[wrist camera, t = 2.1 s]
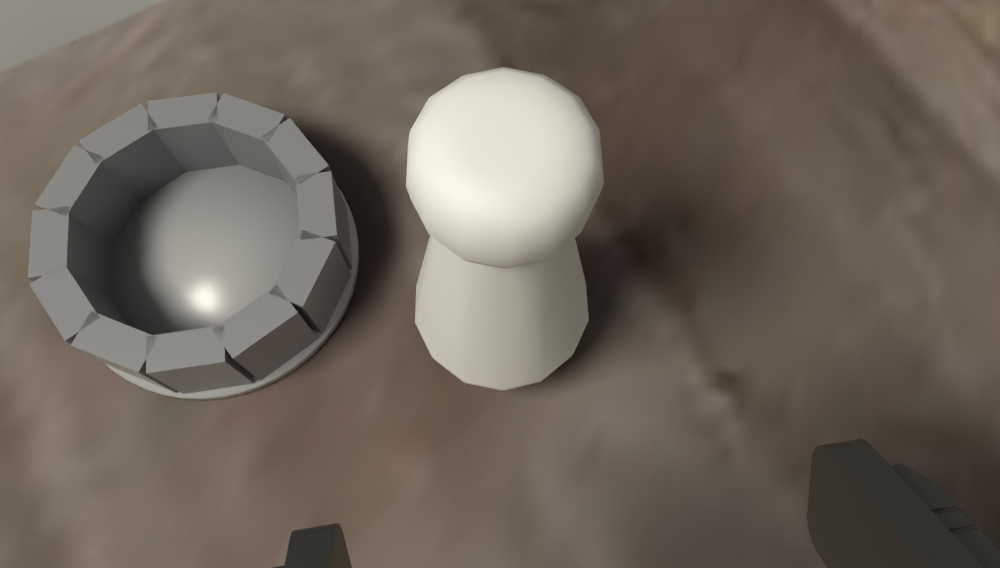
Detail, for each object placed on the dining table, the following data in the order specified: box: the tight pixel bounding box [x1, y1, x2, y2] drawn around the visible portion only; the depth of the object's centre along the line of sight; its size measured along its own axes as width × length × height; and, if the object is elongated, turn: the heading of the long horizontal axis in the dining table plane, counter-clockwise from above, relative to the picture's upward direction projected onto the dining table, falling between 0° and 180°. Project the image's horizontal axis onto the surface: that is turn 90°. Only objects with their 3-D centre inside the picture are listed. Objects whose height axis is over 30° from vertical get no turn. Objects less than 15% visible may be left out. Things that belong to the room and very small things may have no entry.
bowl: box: [28, 92, 359, 401], centre depth 27 cm, size 10×10×4 cm
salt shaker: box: [406, 67, 604, 391], centre depth 21 cm, size 6×6×13 cm
